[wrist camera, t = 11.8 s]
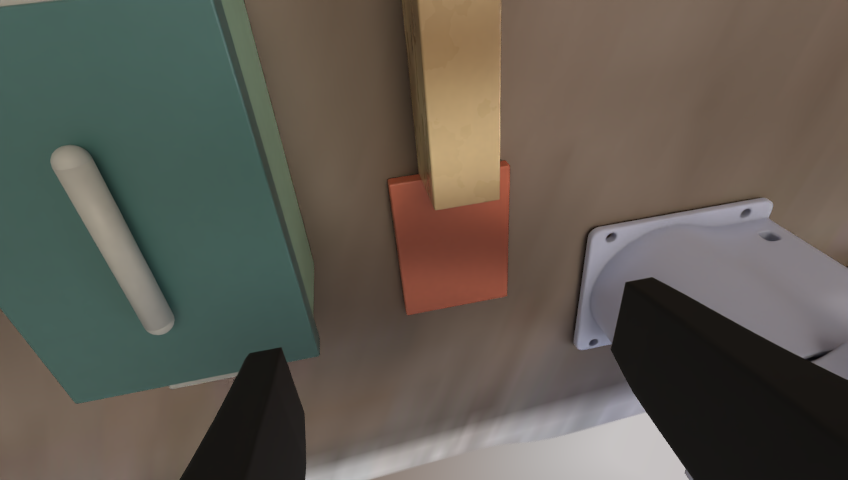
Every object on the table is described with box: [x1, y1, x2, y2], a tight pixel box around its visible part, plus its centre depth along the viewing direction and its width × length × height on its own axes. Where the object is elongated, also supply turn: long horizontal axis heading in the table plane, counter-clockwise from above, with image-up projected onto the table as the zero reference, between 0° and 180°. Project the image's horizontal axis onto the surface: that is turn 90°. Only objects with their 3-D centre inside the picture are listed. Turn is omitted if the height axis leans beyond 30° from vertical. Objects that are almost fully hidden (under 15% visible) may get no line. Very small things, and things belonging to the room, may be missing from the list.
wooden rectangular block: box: [387, 0, 510, 315], centre depth 17 cm, size 18×5×3 cm, turn 5°
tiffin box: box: [0, 0, 320, 404], centre depth 14 cm, size 8×12×6 cm, turn 5°
